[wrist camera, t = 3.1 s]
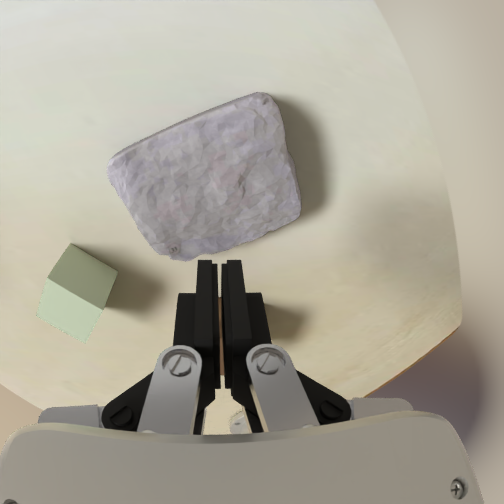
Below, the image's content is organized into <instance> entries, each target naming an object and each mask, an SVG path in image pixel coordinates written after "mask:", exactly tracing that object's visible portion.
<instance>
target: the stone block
mask: <svg viewBox="0 0 504 504" xmlns="http://www.w3.org/2000/svg"><path fill="white" fill-rule="evenodd" d="M107 174H108V178H109V181H110V183H111V185H112V186H113V187H114V188H115V189H116V192H117V194H118V196H119V197H120V198H121V199H122V200H123V202H124V204H125V206H126V207H127V209H128V211H129V213H130V215H131V216H132V218H133V220H134V221H135V223H136V225H137V227H138V229H139V231H140V232H141V233H142V235H143V236H144V238H145V239H146V240H147V242H148V243H149V245H150V246H151V247H152V248H153V249H154V250H155V251H156V252H157V253H158V254H159V255H169V257H170V259H172V260H180V261H190V260H192V259H194V258H196V257H197V256H199V255H202V254H214V253H218V252H222V251H225V250H228V249H231V248H233V247H235V246H238V245H239V244H241V243H246V242H249V241H253V240H255V239H256V238H259V237H261V236H263V235H265V234H266V233H267V232H268V231H275V230H276V229H278V228H280V227H282V226H284V225H286V224H288V223H290V222H292V221H294V220H296V219H297V218H298V217H299V215H300V211H301V208H302V203H301V195H300V189H299V186H298V180H297V178H296V169H295V165H294V161H293V159H292V158H291V156H290V154H289V152H288V150H287V145H286V140H285V128H284V124H283V120H282V117H281V113H280V110H279V107H278V105H277V104H276V103H275V102H274V101H273V99H272V98H271V96H270V95H268V94H267V93H260V92H256V93H252V94H250V95H247V96H244V97H241V98H238V99H235V100H233V101H230V102H227V103H225V104H222V105H220V106H217V107H215V108H212V109H209V110H207V111H204V112H202V113H200V114H197V115H195V116H192V117H190V118H188V119H185V120H183V121H181V122H179V123H176V124H174V125H172V126H170V127H168V128H166V129H164V130H161V131H159V132H157V133H155V134H153V135H151V136H149V137H147V138H144V139H142V140H140V141H139V142H136V143H134V144H132V145H131V146H128V147H126V148H125V149H123V150H121V151H120V152H118V153H116V154H115V155H114V156H113V157H112V158H111V159H110V160H109V162H108V164H107Z"/></svg>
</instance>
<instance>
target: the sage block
mask: <svg viewBox="0 0 504 504" xmlns="http://www.w3.org/2000/svg"><path fill="white" fill-rule="evenodd" d="M117 274H118V271H116V270H114V269H113V268H111V267H109V266H108V265H106V264H104V263H102V262H101V261H99V260H97V259H96V258H94V257H92V256H91V255H89V254H87V253H86V252H84V251H82V250H81V249H79V248H77V247H76V246H74V245H73V244H71V243H70V245H69V246H68V247H67V249H66V250H65V252H64V253H63V255H62V256H61V257H60V259H59V260H58V262H57V263H56V265H55V266H54V268H53V269H52V271H51V272H50V274H49V276H48V277H47V280H46V283H45V286H44V289H43V293H42V296H41V300H40V303H39V307H38V311H37V315H36V316H37V317H39V318H40V319H42V320H44V321H45V322H47V323H49V324H50V325H52V326H54V327H56V328H57V329H59V330H61V331H63V332H64V333H66V334H68V335H70V336H72V337H74V338H75V339H77V340H79V341H81V342H83V343H85V344H86V342H87V340H88V338H89V336H90V334H91V332H92V330H93V328H94V327H95V325H96V323H97V321H98V319H99V317H100V315H101V314H102V312H103V310H104V307H105V304H106V302H107V299H108V297H109V294H110V291H111V289H112V286H113V284H114V281H115V279H116V276H117Z"/></svg>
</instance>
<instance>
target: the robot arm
mask: <svg viewBox="0 0 504 504" xmlns="http://www.w3.org/2000/svg"><path fill="white" fill-rule="evenodd" d="M221 324H222V343H223V361H224V377H225V389H230V388H231V396H233V399H234V400H235V401H237V402H238V403H239V404H241V405H242V410H243V411H241V412H239V413H238V414H236V415H235V416H234V417H233V418H232V419H231V421H230V432H231V433H232V434H227V435H203V431H204V424H205V417H206V407H207V406H208V405H209V404H210V403H211V402H213V401H214V400H215V389H221V381H220V329H219V303H218V271H217V264H212V260H198V268H197V285H196V293H179V294H178V301H177V310H176V320H175V330H174V340H173V346H172V347H169V348H167V349H165V350H164V351H163V352H162V353H161V354H160V355H159V357H158V359H157V363H156V366H155V369H154V371H153V372H152V373H151V374H149V375H148V376H146V377H145V378H144V379H142V380H141V381H139V382H138V383H136V384H135V385H134V386H132V387H131V388H129V389H128V390H126V391H125V392H124V393H122V394H121V395H119V396H118V397H116V398H115V399H113V400H112V401H111V402H109V403H108V404H107V405H106V406H102V407H99V406H98V405H85V406H70V407H52V408H47V409H46V410H44V411H43V412H42V413H41V414H40V416H39V420H38V424H32V425H28V426H25V427H22V428H20V429H17V430H16V431H14V432H13V433H12V434H11V435H10V436H9V437H8V439H7V441H6V443H5V445H4V447H3V450H2V453H1V456H0V504H484V501H483V498H482V494H481V491H480V488H479V485H478V482H477V479H476V476H475V473H474V470H473V467H472V464H471V462H470V460H469V457H468V455H467V452H466V450H465V448H464V446H463V444H462V442H461V440H460V438H459V436H458V435H457V433H456V431H455V429H454V428H453V427H452V425H451V424H450V423H449V422H448V421H447V420H446V419H445V418H443V417H442V416H440V415H437V414H433V413H429V412H423V411H414V410H413V407H412V405H411V404H410V403H409V402H408V401H406V400H404V399H400V398H353V399H352V400H346V399H344V398H343V397H342V396H340V395H338V394H337V393H335V392H333V391H331V390H330V389H328V388H326V387H324V386H323V385H321V384H319V383H318V382H316V381H314V380H312V379H311V378H309V377H307V376H306V375H304V374H302V373H301V372H299V371H297V370H296V369H295V367H294V365H293V363H292V360H291V358H290V356H289V355H288V353H287V352H286V351H285V350H284V349H283V348H281V347H279V346H277V345H273V344H272V343H271V338H270V333H269V328H268V323H267V318H266V313H265V308H264V303H263V298H262V294H261V293H246V292H245V285H244V278H243V270H242V263H241V260H227V264H222V273H221Z"/></svg>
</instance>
